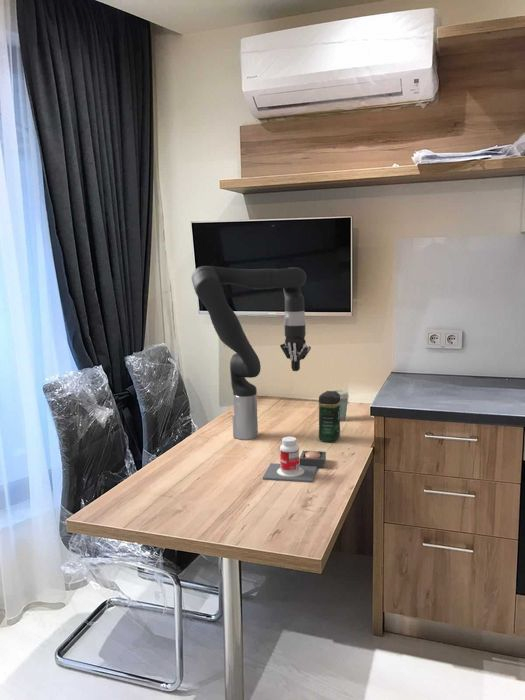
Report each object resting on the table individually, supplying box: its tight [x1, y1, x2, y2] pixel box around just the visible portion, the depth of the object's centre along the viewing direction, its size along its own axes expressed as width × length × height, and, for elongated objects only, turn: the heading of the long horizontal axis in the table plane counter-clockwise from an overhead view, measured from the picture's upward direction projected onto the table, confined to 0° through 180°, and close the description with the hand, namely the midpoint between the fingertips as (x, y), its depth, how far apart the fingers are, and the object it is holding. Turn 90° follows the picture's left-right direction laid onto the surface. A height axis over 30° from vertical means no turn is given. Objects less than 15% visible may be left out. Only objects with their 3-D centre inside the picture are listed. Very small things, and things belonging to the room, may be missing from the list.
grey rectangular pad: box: [262, 462, 318, 483], centre depth 192 cm, size 16×13×1 cm
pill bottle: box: [279, 436, 300, 474], centre depth 191 cm, size 6×6×11 cm
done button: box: [305, 452, 320, 458], centre depth 200 cm, size 5×5×2 cm
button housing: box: [299, 450, 327, 469], centre depth 200 cm, size 8×8×3 cm
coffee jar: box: [318, 390, 341, 443], centre depth 225 cm, size 10×8×19 cm
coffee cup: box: [334, 389, 349, 422], centre depth 251 cm, size 8×9×12 cm
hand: (295, 370), depth 213 cm, fingers closed
